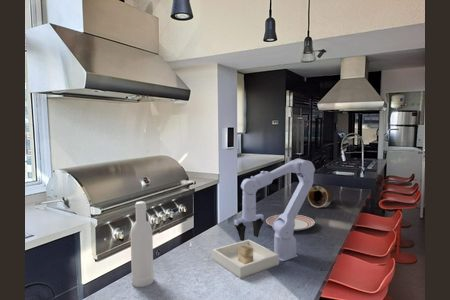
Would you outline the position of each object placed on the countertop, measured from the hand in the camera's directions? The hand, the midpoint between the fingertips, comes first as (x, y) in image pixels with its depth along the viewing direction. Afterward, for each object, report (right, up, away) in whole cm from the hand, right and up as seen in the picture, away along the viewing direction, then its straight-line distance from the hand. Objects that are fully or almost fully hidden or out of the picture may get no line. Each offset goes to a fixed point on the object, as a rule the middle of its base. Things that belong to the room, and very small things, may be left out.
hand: (249, 238), depth 129 cm
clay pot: (+61, -2, +90) cm, 109 cm away
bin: (-2, -10, -2) cm, 10 cm away
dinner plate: (+27, -6, +44) cm, 52 cm away
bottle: (-41, -11, -17) cm, 46 cm away
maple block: (-2, -9, -2) cm, 9 cm away
